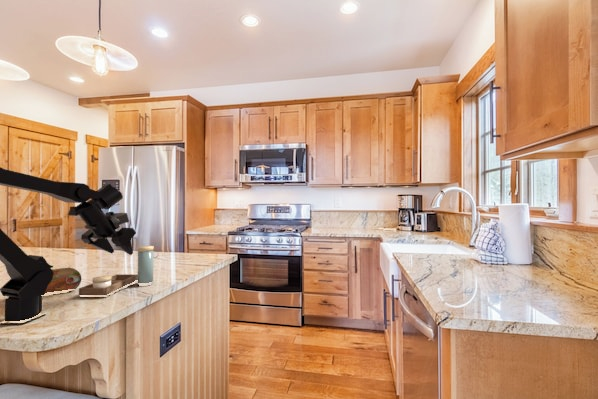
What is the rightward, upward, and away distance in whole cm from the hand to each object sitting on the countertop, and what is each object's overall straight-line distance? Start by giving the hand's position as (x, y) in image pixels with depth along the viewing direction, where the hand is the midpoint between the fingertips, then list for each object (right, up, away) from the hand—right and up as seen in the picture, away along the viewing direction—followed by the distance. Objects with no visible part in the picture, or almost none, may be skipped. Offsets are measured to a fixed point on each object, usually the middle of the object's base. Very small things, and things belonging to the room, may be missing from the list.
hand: (122, 253), depth 97 cm
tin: (-20, -13, -5) cm, 24 cm away
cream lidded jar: (-4, -13, -4) cm, 14 cm away
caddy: (-4, -13, 0) cm, 13 cm away
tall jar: (+5, -13, +6) cm, 15 cm away
